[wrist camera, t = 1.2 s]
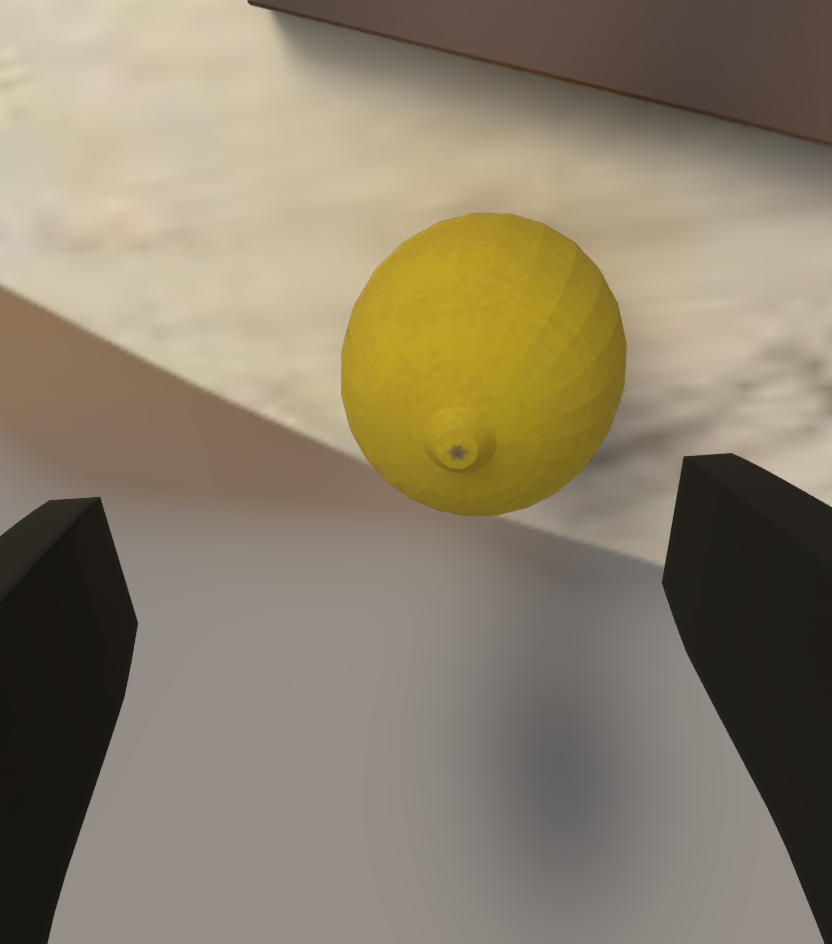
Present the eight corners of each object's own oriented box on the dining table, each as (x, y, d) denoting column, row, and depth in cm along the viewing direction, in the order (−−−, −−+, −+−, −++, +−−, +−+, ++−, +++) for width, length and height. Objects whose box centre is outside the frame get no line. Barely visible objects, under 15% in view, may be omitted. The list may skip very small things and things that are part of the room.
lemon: (414, 416, 21) (333, 601, 14) (369, 205, 19) (244, 304, 12) (626, 393, 20) (650, 585, 13) (608, 162, 17) (626, 246, 10)
